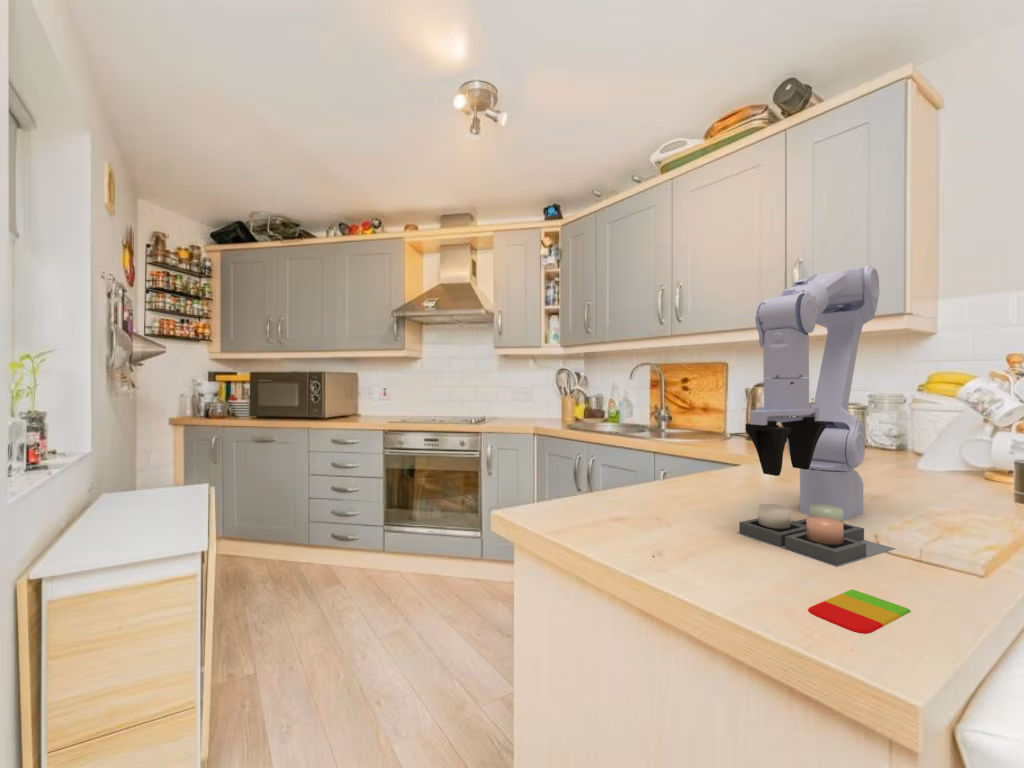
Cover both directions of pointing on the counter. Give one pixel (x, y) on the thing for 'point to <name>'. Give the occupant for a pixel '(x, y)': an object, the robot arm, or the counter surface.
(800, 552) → the grey compartment tray
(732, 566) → the counter surface
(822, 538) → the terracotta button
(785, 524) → the cream button
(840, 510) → the sage button
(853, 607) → the striped ice pop
